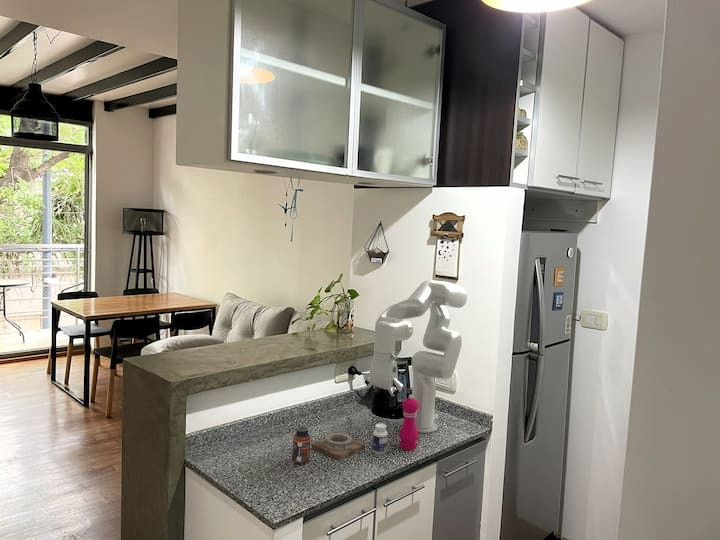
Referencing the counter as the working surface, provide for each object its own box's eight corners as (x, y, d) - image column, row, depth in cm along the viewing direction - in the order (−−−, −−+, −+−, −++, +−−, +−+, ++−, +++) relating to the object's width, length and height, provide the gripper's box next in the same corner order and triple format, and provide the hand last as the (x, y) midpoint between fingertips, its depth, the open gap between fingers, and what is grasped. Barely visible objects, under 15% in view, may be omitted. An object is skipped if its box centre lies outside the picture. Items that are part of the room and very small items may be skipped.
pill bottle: (369, 449, 195) (370, 423, 194) (382, 447, 197) (384, 421, 196) (375, 455, 190) (377, 428, 189) (389, 453, 192) (390, 427, 191)
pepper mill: (416, 451, 194) (419, 398, 193) (396, 449, 196) (400, 396, 194) (418, 444, 202) (421, 392, 200) (399, 441, 203) (402, 390, 201)
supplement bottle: (302, 466, 178) (303, 433, 177) (288, 461, 181) (289, 429, 180) (312, 460, 183) (314, 428, 182) (299, 455, 187) (300, 424, 186)
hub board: (337, 437, 204) (337, 427, 204) (365, 448, 195) (365, 438, 195) (311, 447, 193) (311, 437, 193) (339, 460, 184) (340, 449, 184)
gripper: (409, 359, 187) (407, 406, 189) (371, 349, 199) (369, 394, 200) (397, 363, 182) (394, 411, 183) (358, 353, 193) (356, 398, 194)
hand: (381, 402), depth 192 cm, fingers open, 9 cm apart
